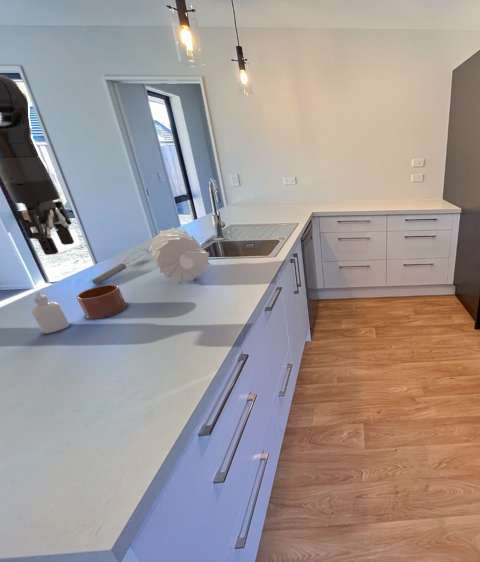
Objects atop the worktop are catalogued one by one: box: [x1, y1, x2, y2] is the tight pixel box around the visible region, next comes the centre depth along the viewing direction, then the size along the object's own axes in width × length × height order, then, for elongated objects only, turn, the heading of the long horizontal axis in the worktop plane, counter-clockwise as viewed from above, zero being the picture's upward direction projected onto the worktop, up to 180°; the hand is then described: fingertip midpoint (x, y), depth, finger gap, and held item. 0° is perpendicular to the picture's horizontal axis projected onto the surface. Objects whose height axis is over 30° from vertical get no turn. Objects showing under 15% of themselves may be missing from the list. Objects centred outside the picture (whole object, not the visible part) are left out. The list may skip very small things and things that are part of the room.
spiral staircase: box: [148, 227, 211, 283], centre depth 122 cm, size 18×18×25 cm
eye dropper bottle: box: [31, 291, 70, 334], centre depth 86 cm, size 4×6×12 cm
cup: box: [76, 284, 127, 320], centre depth 97 cm, size 10×10×7 cm
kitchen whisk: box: [89, 247, 153, 287], centre depth 129 cm, size 6×34×6 cm, turn 0°
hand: (60, 248), depth 73 cm, fingers open, 8 cm apart
